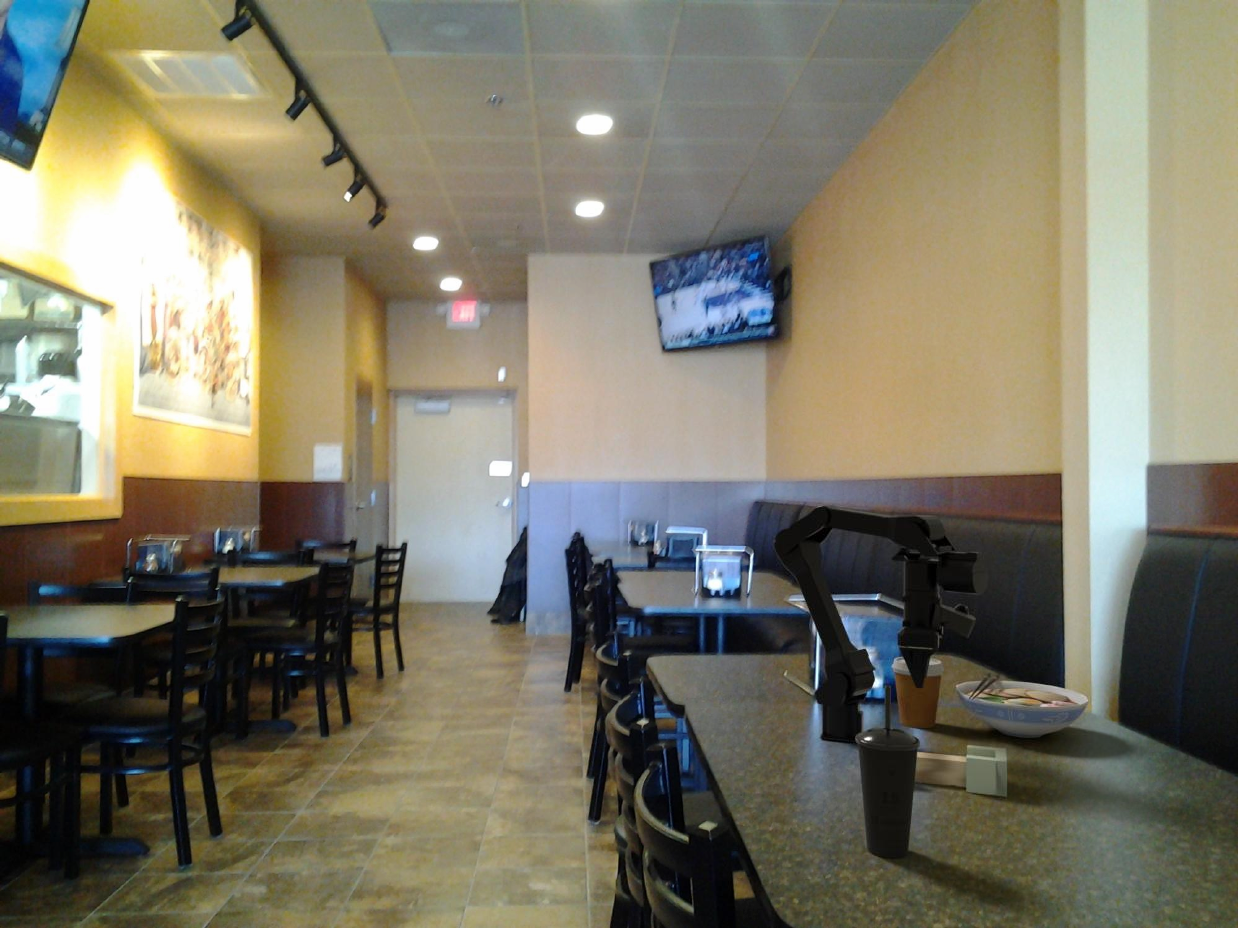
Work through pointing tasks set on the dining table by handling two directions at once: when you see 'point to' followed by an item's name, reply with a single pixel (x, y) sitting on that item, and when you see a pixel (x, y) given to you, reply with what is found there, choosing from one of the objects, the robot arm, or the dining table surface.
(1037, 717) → the ramen bowl
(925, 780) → the slat
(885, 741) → the drinking cup
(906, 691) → the disposable coffee cup
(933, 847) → the dining table surface
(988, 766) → the right end cap
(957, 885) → the dining table surface
